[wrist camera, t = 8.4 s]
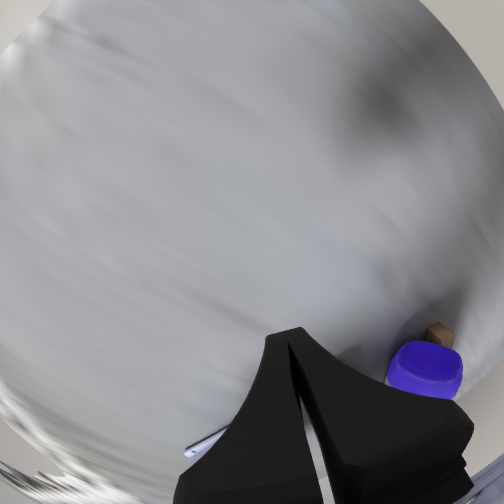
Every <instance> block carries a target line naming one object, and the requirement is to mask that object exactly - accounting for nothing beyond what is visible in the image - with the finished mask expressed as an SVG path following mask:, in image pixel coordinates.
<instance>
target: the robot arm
mask: <svg viewBox="0 0 504 504" xmlns="http://www.w3.org/2000/svg"><path fill="white" fill-rule="evenodd" d="M299 394H300V395H299ZM300 397H301V399H302V402H303V404H304V407H305V409H306V412H307V414H308V417H309V419H310V422H311V424H312V427H313V429H314V432H315V434H316V437H317V440H318V442H319V445H320V448H321V452H322V456H323V459H324V463H325V467H326V471H327V474H328V478H329V482H330V486H331V489H332V493H333V497H334V501H335V504H466V503H468V502H469V501H471V500H472V499H474V498H475V499H474V500H473V501H471V502H470V503H469V504H504V453H503V454H502V455H501V456H500V457H498V458H497V459H496V460H494V461H493V462H492V463H490V464H489V465H488V466H486V467H485V468H484V469H482V470H481V471H480V472H478V473H477V474H475V475H474V476H472V477H471V478H470V477H469V476H468V474H467V472H466V471H465V469H464V467H465V466H466V461H465V460H464V458H463V457H462V453H463V451H464V450H465V448H466V446H467V444H468V443H469V441H470V439H471V437H472V434H473V431H474V423H473V422H472V421H471V420H470V418H469V417H468V416H467V414H466V413H465V412H464V411H463V410H462V408H460V407H459V406H458V405H457V404H456V403H455V402H454V401H453V400H450V399H443V398H436V397H429V396H423V395H418V394H414V393H410V392H407V391H403V390H400V389H397V388H394V387H391V386H388V385H386V384H383V383H380V382H378V381H376V380H373V379H371V378H369V377H367V376H365V375H363V374H361V373H359V372H358V371H356V370H354V369H353V368H351V367H349V366H348V365H346V364H345V363H343V362H342V361H340V360H339V359H337V358H336V357H335V356H333V355H332V354H331V353H329V352H328V351H327V350H326V349H324V348H323V347H322V346H321V345H320V344H319V343H317V342H316V341H315V340H314V339H313V338H312V337H311V336H310V335H309V334H308V333H307V332H306V331H305V329H304V328H302V327H298V328H294V329H290V330H286V331H282V332H279V333H275V334H271V335H268V336H267V337H266V338H265V348H264V352H263V356H262V360H261V363H260V366H259V369H258V372H257V375H256V377H255V380H254V382H253V385H252V387H251V389H250V391H249V393H248V395H247V397H246V399H245V401H244V403H243V405H242V406H241V408H240V410H239V412H238V413H237V415H236V416H235V418H234V419H233V421H232V422H231V424H230V425H229V426H228V427H227V428H226V429H224V430H222V431H220V432H219V433H217V434H215V435H213V436H212V437H210V438H208V439H206V440H204V441H202V442H200V443H199V444H197V445H195V446H193V447H191V448H189V449H187V450H185V451H184V455H186V456H188V457H190V462H189V469H187V470H186V471H185V472H184V473H183V474H181V475H180V477H179V480H178V483H177V487H176V490H175V493H174V498H173V504H324V503H323V498H322V493H321V489H320V485H319V482H318V478H317V474H316V470H315V467H314V463H313V459H312V456H311V452H310V448H309V445H308V441H307V437H306V433H305V430H304V423H303V416H302V409H301V402H300Z"/></svg>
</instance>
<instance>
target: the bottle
mask: <svg viewBox="0 0 504 504" xmlns="http://www.w3.org/2000/svg"><path fill="white" fill-rule="evenodd" d="M462 372H463V364H462V360H461V357H460V355H459V354H458V353H457V352H456V351H454V350H452V349H450V348H447V347H444V346H441V345H438V344H434V343H430V342H424V341H411V342H408V343H406V344H405V345H403V346H402V347H401V348H400V349H399V350H398V352H397V353H396V355H395V356H394V357H393V359H392V361H391V362H390V365H389V369H388V372H387V374H386V378H385V382H384V384H386V385H388V386H391V387H394V388H397V389H400V390H403V391H407V392H410V393H414V394H418V395H423V396H429V397H436V398H443V399H450V400H454V398H455V396H456V393H457V391H458V388H459V387H460V385H461V381H462V377H463V375H462Z"/></svg>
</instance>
